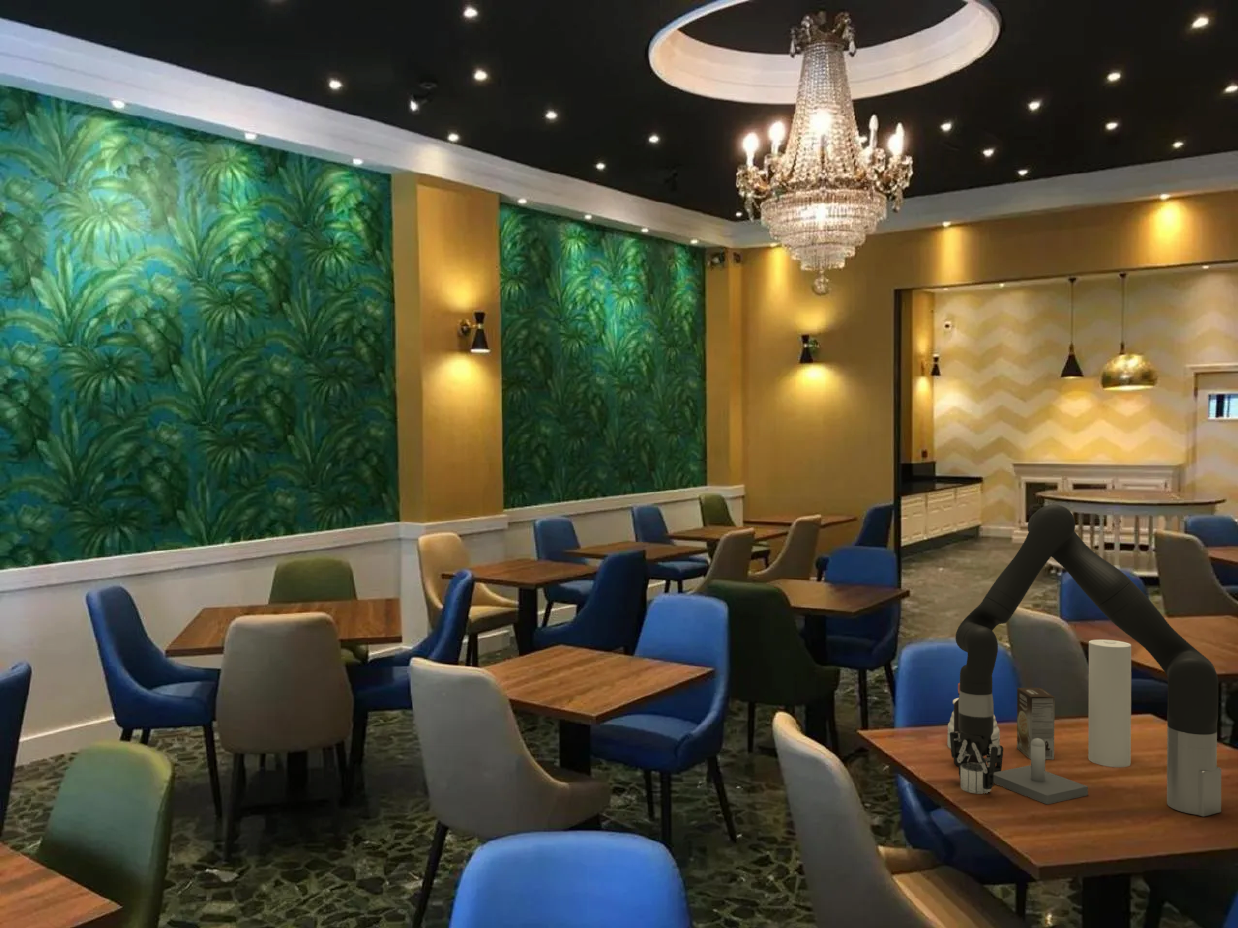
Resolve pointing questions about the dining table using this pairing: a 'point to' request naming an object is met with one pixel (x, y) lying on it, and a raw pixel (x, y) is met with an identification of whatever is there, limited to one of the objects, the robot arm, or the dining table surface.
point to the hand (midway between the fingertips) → (975, 783)
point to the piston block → (1039, 780)
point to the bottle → (956, 728)
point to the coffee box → (1035, 720)
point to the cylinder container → (1109, 703)
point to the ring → (972, 778)
